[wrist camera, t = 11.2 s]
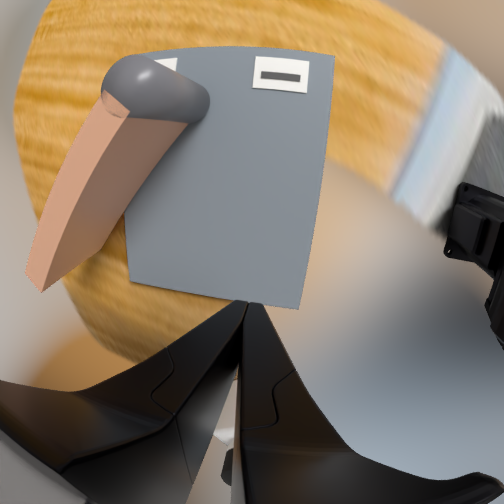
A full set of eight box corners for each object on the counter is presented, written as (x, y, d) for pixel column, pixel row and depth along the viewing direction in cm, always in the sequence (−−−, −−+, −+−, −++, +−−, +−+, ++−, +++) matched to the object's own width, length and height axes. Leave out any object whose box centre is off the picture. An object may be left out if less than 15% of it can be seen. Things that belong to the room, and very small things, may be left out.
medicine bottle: (223, 381, 28) (196, 474, 17) (281, 364, 26) (271, 471, 15) (256, 414, 30) (241, 498, 19) (310, 401, 28) (308, 493, 17)
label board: (332, 59, 16) (335, 55, 14) (298, 303, 23) (298, 310, 22) (138, 57, 17) (131, 54, 16) (135, 276, 25) (128, 282, 23)
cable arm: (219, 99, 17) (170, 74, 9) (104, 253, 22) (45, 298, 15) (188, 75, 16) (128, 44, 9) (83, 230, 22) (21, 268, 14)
